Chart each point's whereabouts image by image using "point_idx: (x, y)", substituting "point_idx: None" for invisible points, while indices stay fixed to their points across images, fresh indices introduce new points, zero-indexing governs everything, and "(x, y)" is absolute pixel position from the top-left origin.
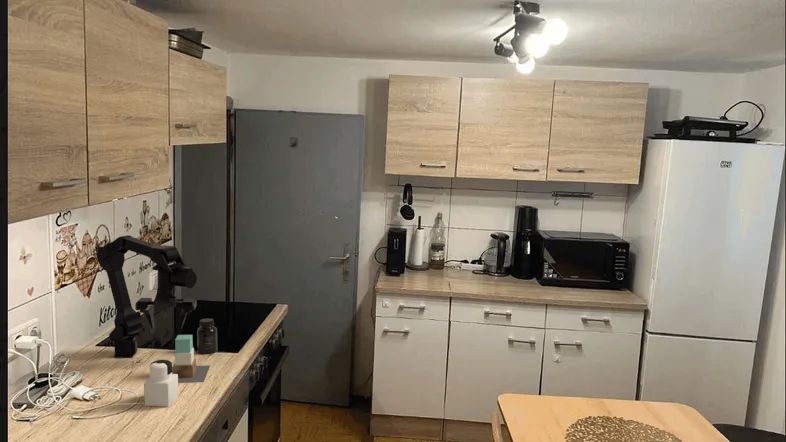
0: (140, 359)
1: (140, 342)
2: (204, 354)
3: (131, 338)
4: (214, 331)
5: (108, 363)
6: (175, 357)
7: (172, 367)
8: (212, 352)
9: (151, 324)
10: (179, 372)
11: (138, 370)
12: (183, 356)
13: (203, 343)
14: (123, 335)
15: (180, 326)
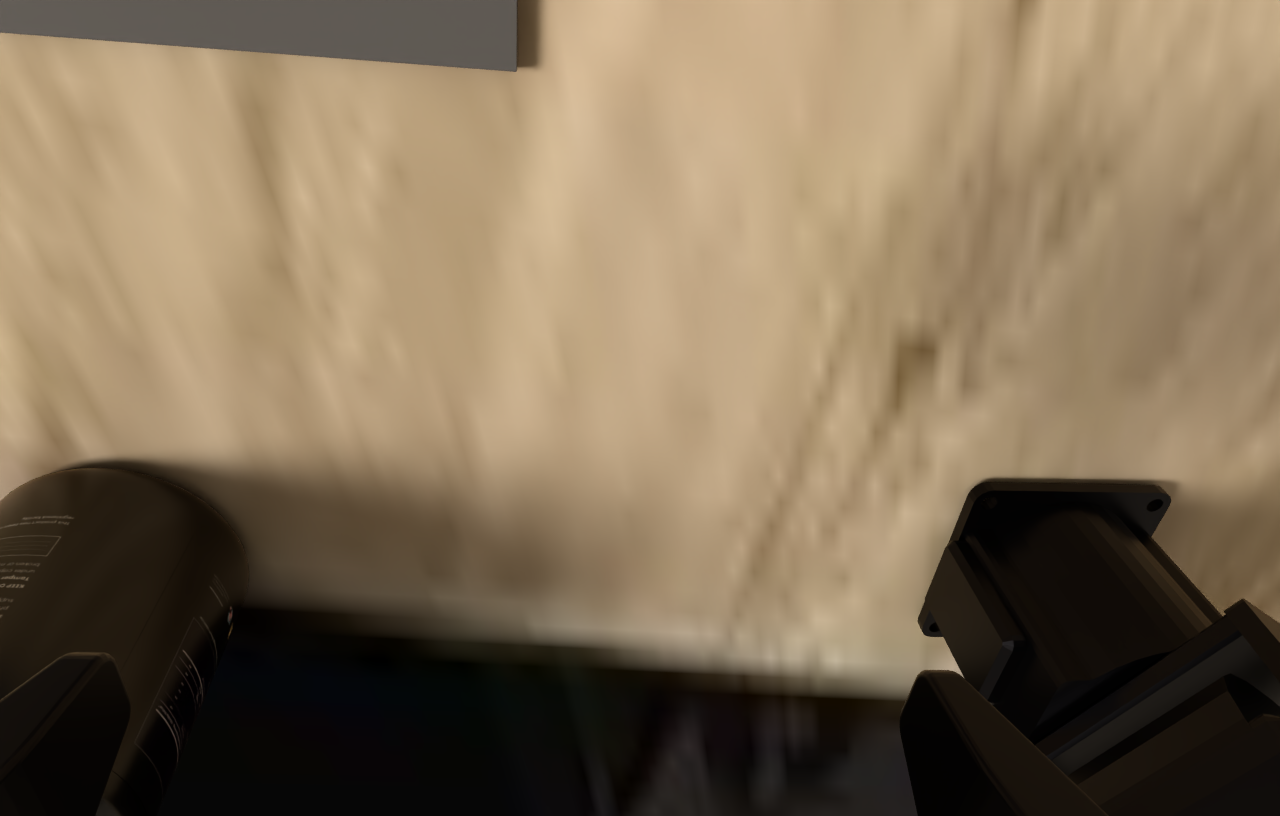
0: (889, 424)
1: (881, 779)
2: (117, 471)
3: (1075, 698)
4: None
5: (1237, 350)
6: None
7: (419, 21)
8: (5, 497)
9: (1023, 784)
10: None
11: (926, 37)
12: None
13: (46, 584)
14: (1252, 697)
15: (19, 717)
